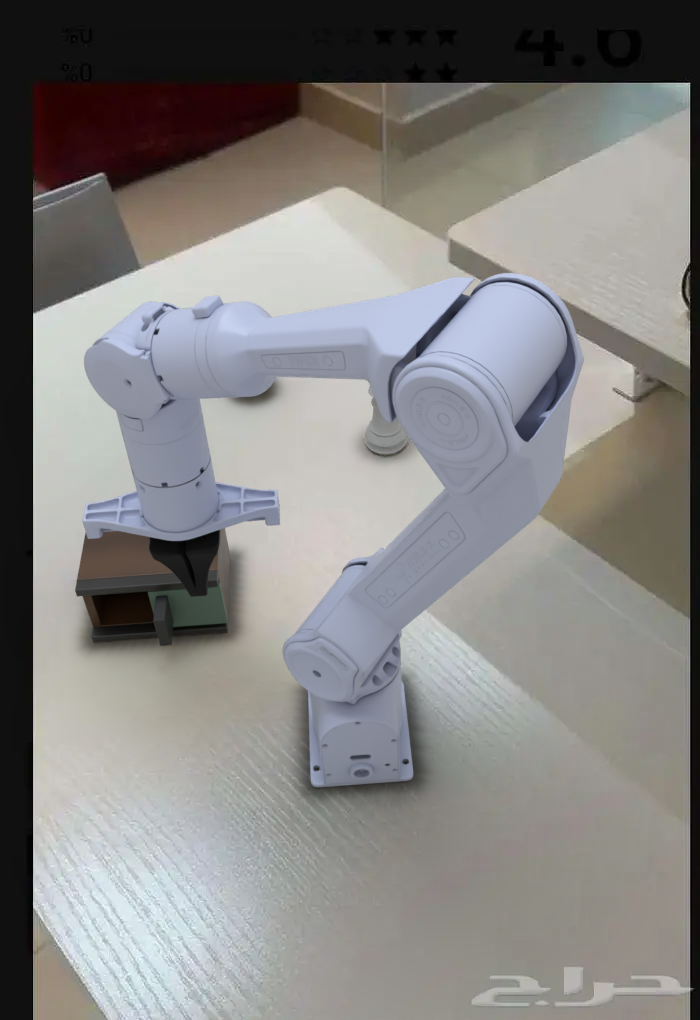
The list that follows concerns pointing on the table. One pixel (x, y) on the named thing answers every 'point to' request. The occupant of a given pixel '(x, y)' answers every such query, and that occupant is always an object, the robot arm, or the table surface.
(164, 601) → the closet door
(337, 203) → the table surface
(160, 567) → the closet
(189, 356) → the robot arm
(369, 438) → the rook chess piece
